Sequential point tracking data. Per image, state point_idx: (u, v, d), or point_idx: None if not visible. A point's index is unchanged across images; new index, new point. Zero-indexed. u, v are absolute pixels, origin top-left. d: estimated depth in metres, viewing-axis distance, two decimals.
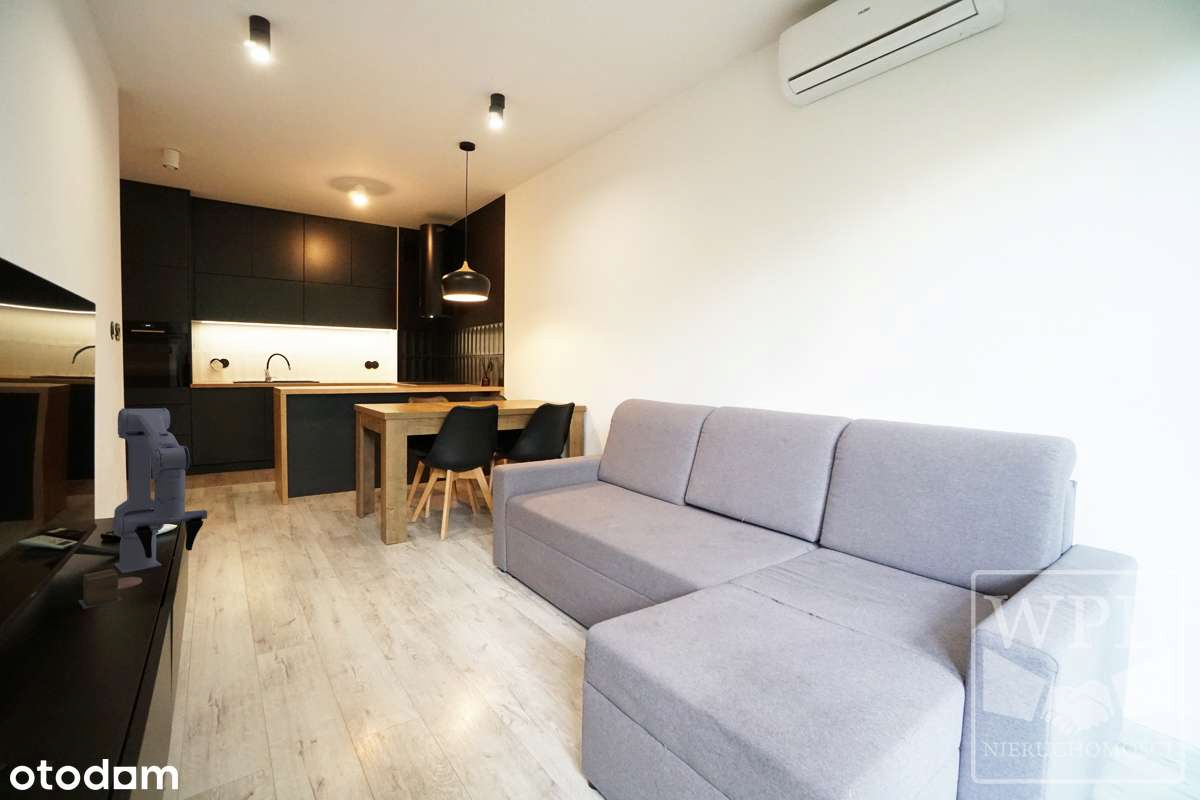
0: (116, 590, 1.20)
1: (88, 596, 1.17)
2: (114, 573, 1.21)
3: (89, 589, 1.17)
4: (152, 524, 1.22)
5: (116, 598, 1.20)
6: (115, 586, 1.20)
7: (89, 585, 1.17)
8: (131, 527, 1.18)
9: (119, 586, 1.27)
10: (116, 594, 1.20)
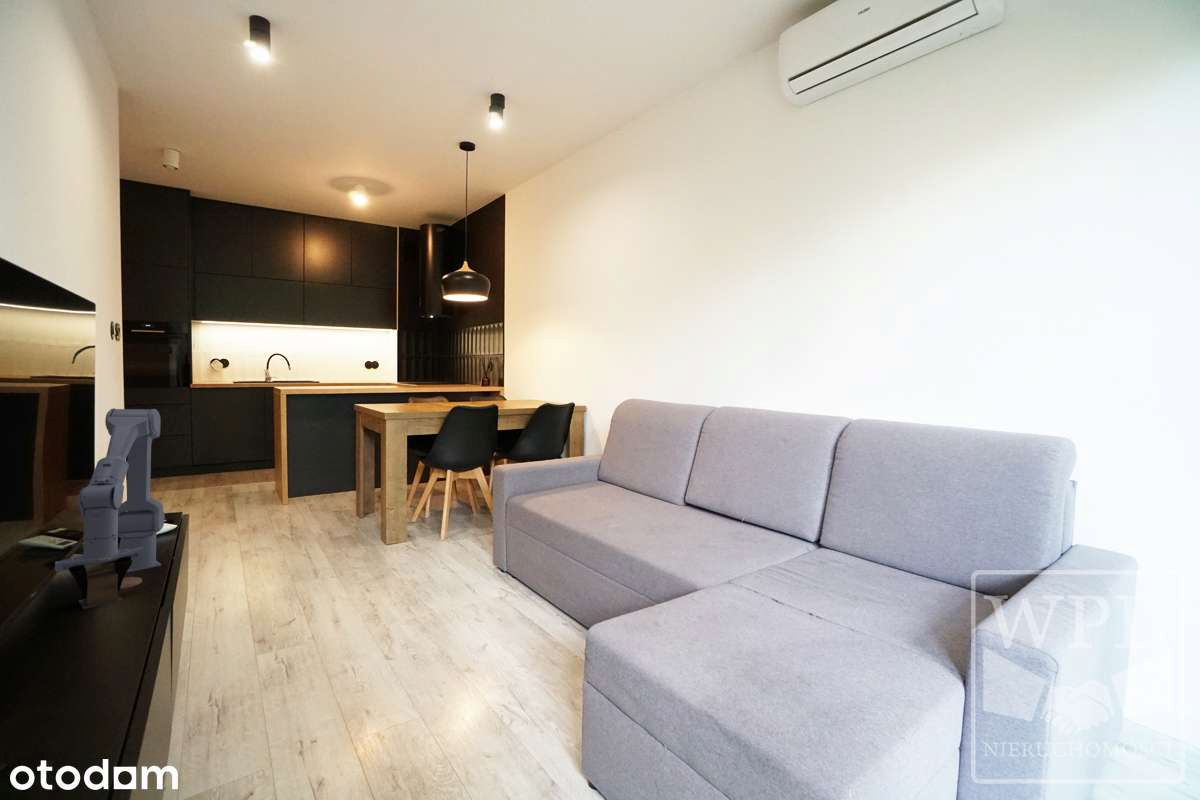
0: (116, 590, 1.20)
1: (88, 596, 1.17)
2: (114, 573, 1.21)
3: (89, 589, 1.17)
4: (81, 565, 1.17)
5: (116, 598, 1.20)
6: (115, 586, 1.20)
7: (89, 585, 1.17)
8: (57, 569, 1.14)
9: None
10: (116, 594, 1.20)
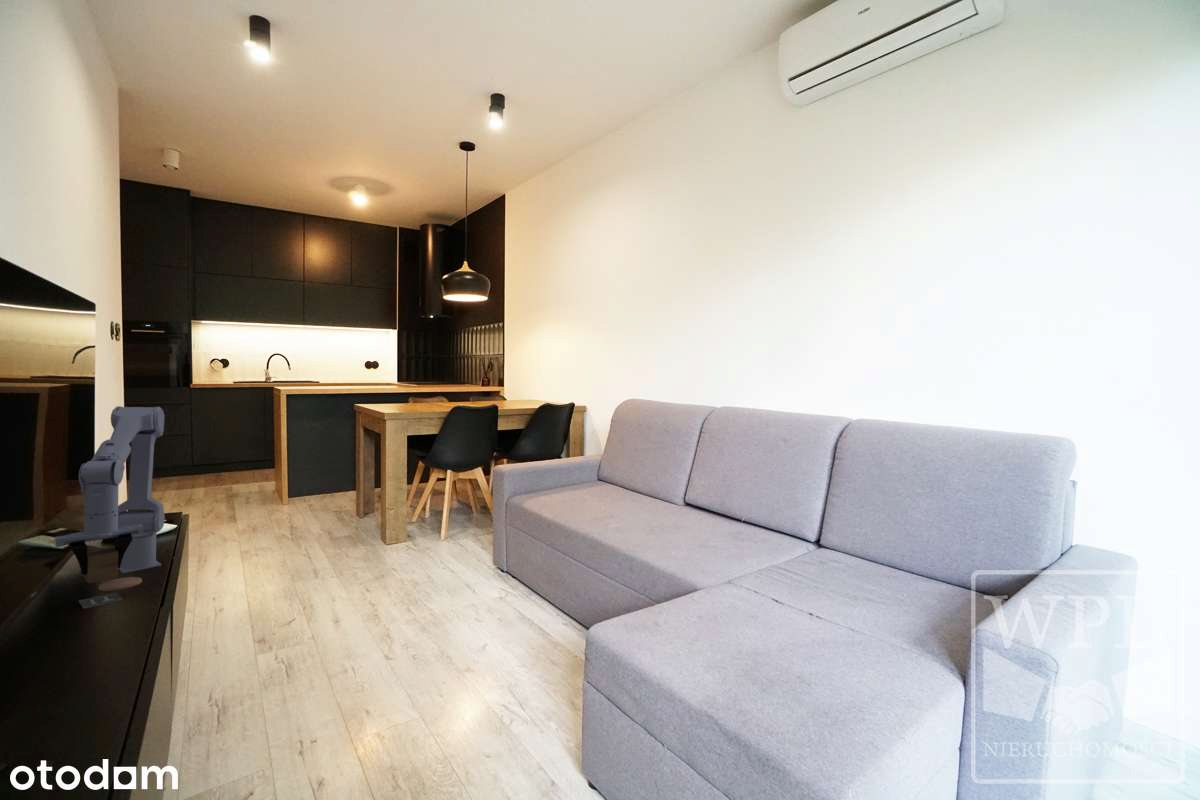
0: (116, 567, 1.20)
1: (88, 573, 1.17)
2: (114, 550, 1.21)
3: (89, 566, 1.17)
4: (81, 540, 1.17)
5: (116, 575, 1.20)
6: (115, 563, 1.20)
7: (89, 562, 1.17)
8: (57, 544, 1.14)
9: (119, 586, 1.27)
10: (116, 571, 1.20)
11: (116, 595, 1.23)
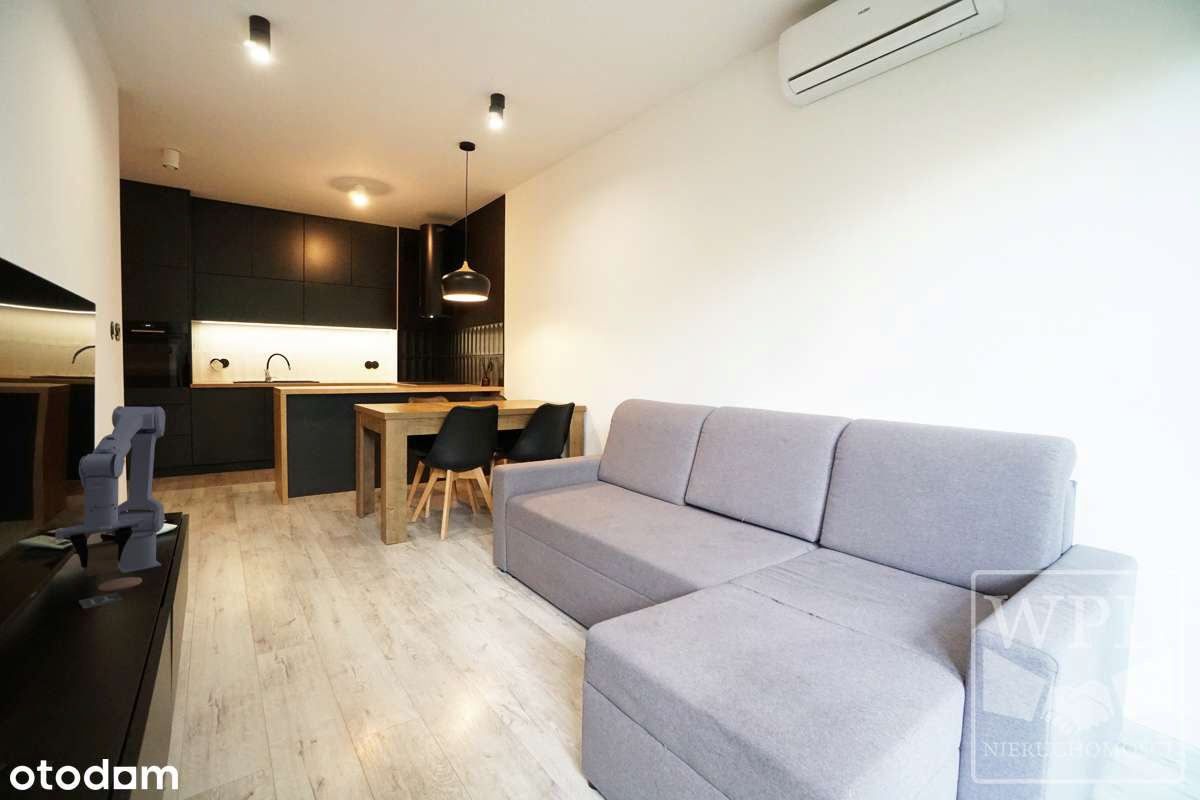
0: (116, 561, 1.20)
1: (88, 566, 1.17)
2: (114, 544, 1.21)
3: (89, 559, 1.17)
4: (81, 533, 1.17)
5: (116, 569, 1.20)
6: (115, 557, 1.20)
7: (89, 555, 1.16)
8: (57, 537, 1.13)
9: (119, 586, 1.27)
10: (116, 565, 1.20)
11: (116, 595, 1.23)
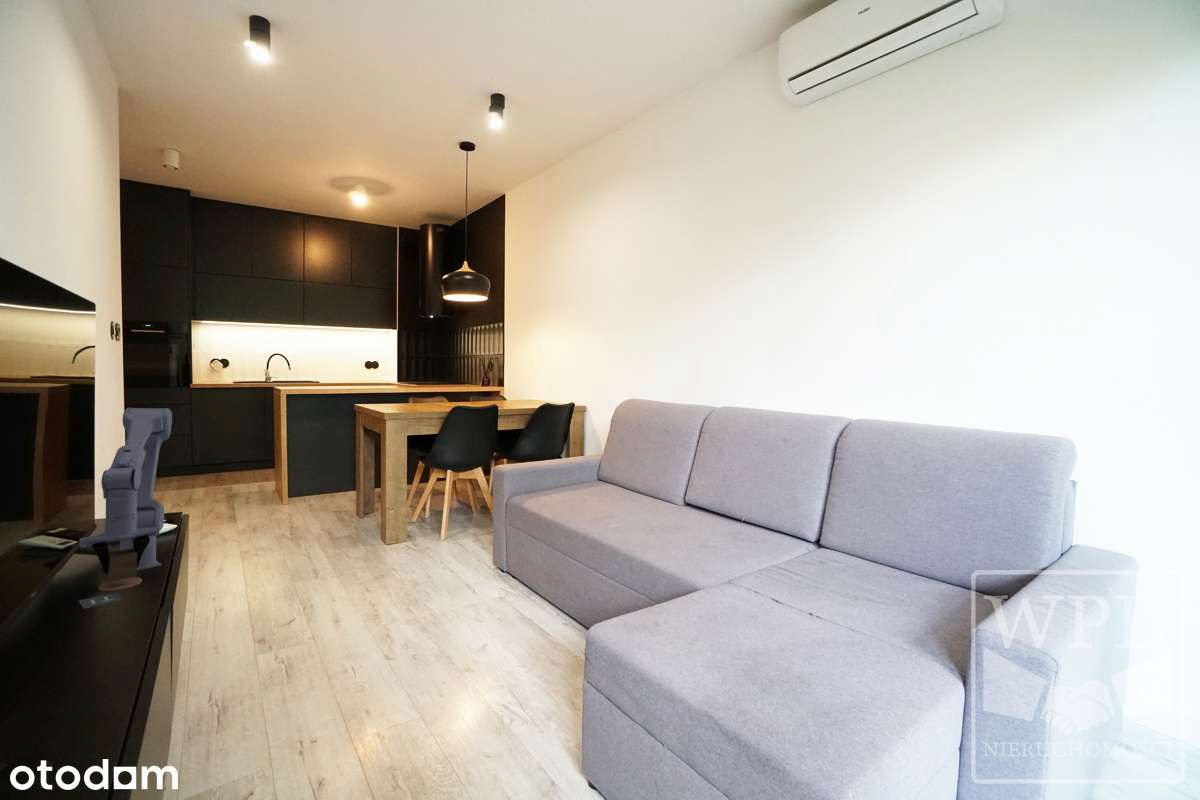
0: (135, 567, 1.29)
1: (110, 572, 1.26)
2: (133, 551, 1.30)
3: (111, 566, 1.26)
4: (103, 541, 1.26)
5: (135, 575, 1.29)
6: (134, 564, 1.29)
7: (111, 562, 1.26)
8: (81, 545, 1.23)
9: (119, 586, 1.27)
10: (135, 571, 1.29)
11: (116, 595, 1.23)
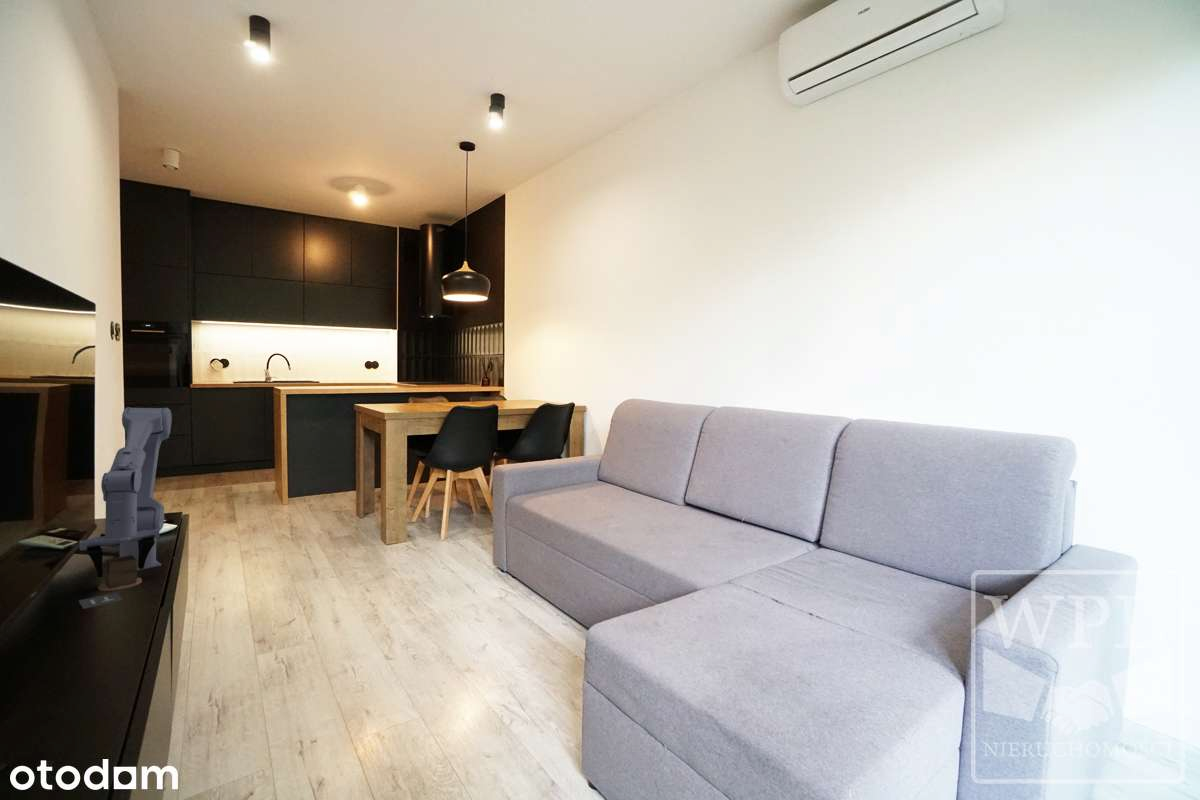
0: (135, 574, 1.29)
1: (110, 579, 1.26)
2: (133, 558, 1.30)
3: (111, 573, 1.26)
4: (103, 544, 1.26)
5: (135, 581, 1.29)
6: (134, 570, 1.29)
7: (111, 569, 1.26)
8: (81, 548, 1.23)
9: None
10: (135, 578, 1.29)
11: (116, 595, 1.23)
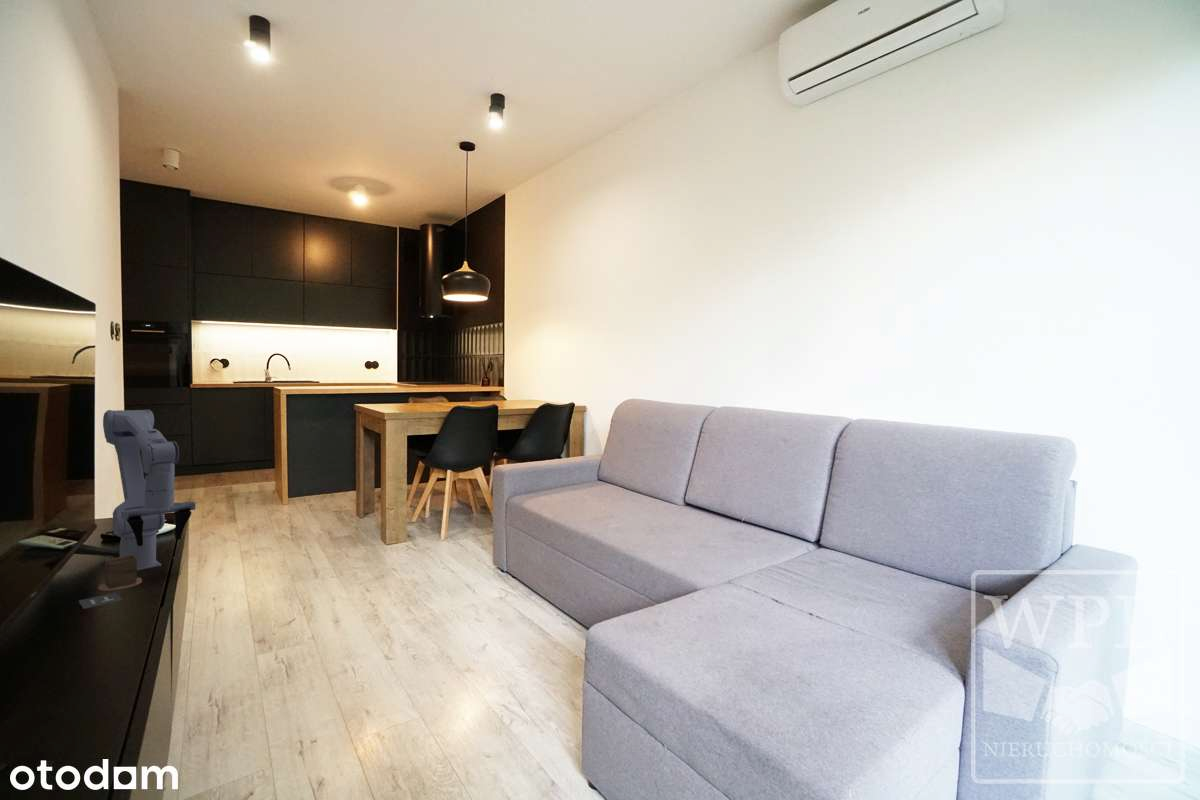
0: (135, 574, 1.29)
1: (110, 579, 1.26)
2: (133, 558, 1.30)
3: (111, 573, 1.26)
4: (143, 514, 1.30)
5: (135, 581, 1.29)
6: (134, 570, 1.29)
7: (111, 569, 1.26)
8: (123, 517, 1.27)
9: None
10: (135, 578, 1.29)
11: (116, 595, 1.23)
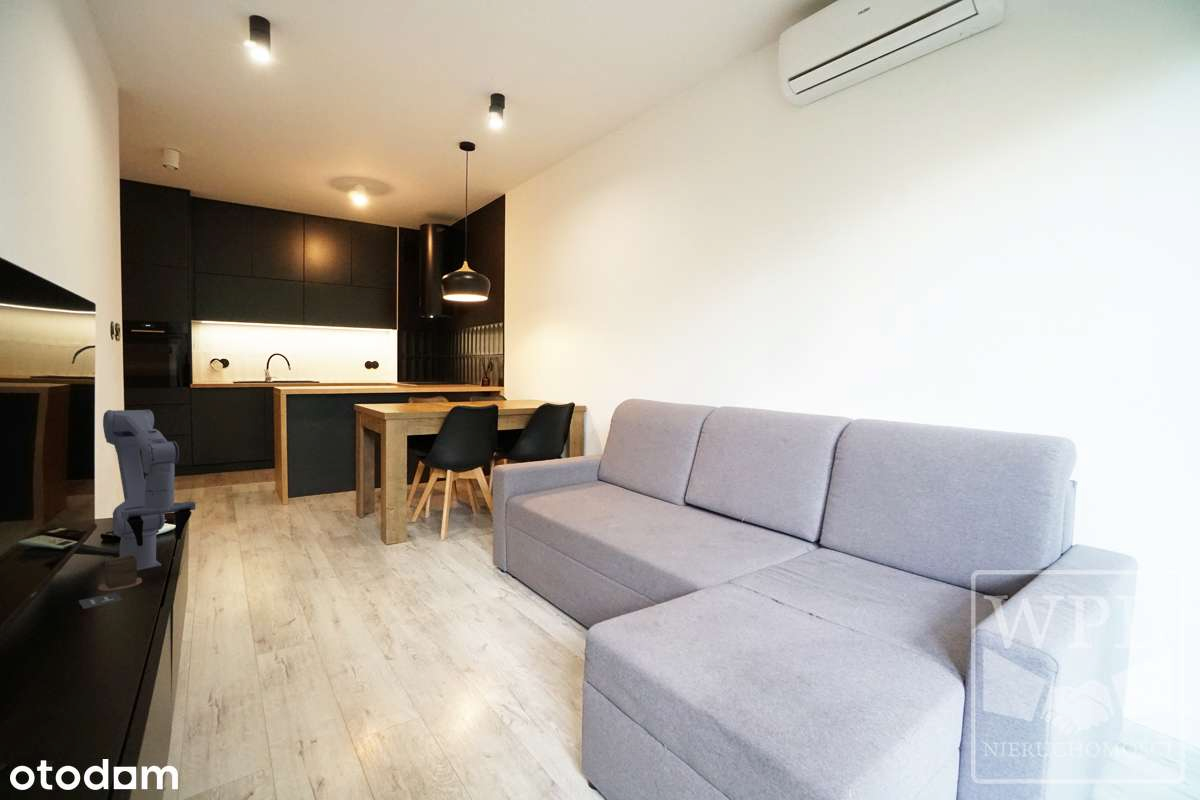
0: (135, 574, 1.29)
1: (110, 579, 1.26)
2: (133, 558, 1.30)
3: (111, 573, 1.26)
4: (143, 514, 1.30)
5: (135, 581, 1.29)
6: (134, 570, 1.29)
7: (111, 569, 1.26)
8: (123, 517, 1.27)
9: None
10: (135, 578, 1.29)
11: (116, 595, 1.23)
